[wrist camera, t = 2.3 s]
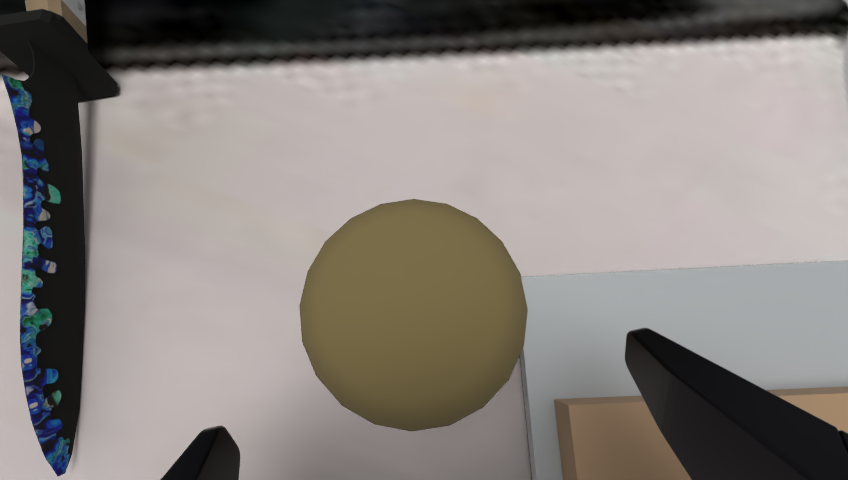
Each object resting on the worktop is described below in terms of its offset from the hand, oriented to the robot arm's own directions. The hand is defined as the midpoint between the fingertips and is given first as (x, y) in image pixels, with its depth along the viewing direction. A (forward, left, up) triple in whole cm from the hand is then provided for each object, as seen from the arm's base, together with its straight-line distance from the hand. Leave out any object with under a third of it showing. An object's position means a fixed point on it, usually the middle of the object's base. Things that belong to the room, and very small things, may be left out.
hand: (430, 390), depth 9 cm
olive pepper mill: (+2, 0, -10) cm, 10 cm away
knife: (+12, +17, -10) cm, 23 cm away
